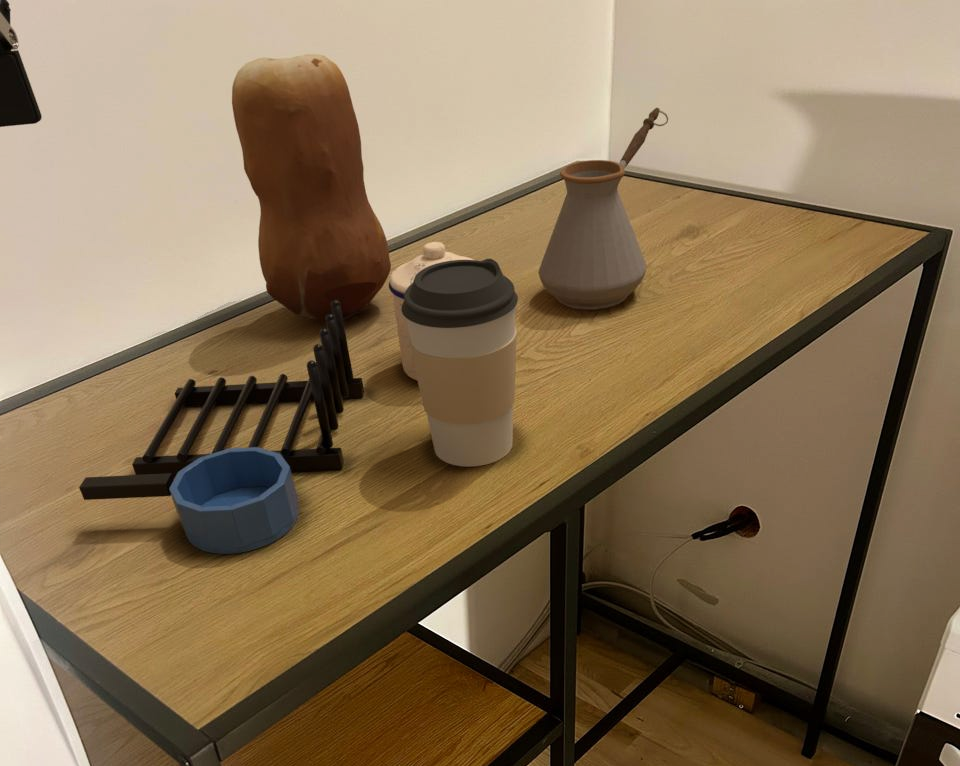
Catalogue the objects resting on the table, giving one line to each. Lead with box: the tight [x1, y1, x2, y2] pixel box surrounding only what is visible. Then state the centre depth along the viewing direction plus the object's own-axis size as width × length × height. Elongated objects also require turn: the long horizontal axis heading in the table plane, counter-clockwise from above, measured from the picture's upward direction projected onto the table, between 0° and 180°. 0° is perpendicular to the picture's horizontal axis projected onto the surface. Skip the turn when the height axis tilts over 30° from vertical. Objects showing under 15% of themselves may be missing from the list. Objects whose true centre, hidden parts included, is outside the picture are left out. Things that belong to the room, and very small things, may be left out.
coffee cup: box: [401, 258, 519, 468], centre depth 77 cm, size 9×9×15 cm
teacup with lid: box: [388, 241, 519, 382], centre depth 90 cm, size 12×9×12 cm
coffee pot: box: [538, 107, 669, 310], centre depth 102 cm, size 21×12×15 cm, turn 147°
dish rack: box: [131, 300, 365, 478], centre depth 83 cm, size 18×14×9 cm
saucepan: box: [78, 446, 299, 555], centre depth 75 cm, size 16×9×4 cm, turn 87°
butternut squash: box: [231, 53, 392, 320], centre depth 97 cm, size 14×13×25 cm
